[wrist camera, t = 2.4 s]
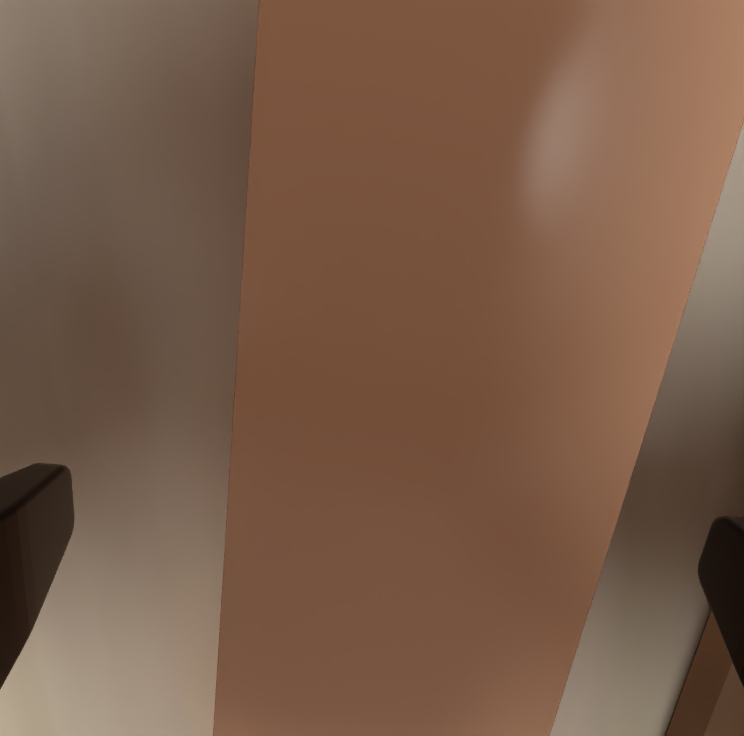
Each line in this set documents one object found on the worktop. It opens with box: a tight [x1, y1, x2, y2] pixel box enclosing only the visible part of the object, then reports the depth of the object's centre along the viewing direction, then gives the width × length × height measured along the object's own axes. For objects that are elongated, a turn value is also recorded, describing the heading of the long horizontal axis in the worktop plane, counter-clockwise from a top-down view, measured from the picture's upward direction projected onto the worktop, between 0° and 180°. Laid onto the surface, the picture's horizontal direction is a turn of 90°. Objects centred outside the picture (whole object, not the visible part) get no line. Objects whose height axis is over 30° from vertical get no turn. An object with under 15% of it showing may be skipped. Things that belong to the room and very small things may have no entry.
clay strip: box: [213, 0, 744, 736], centre depth 10 cm, size 16×4×5 cm, turn 172°
